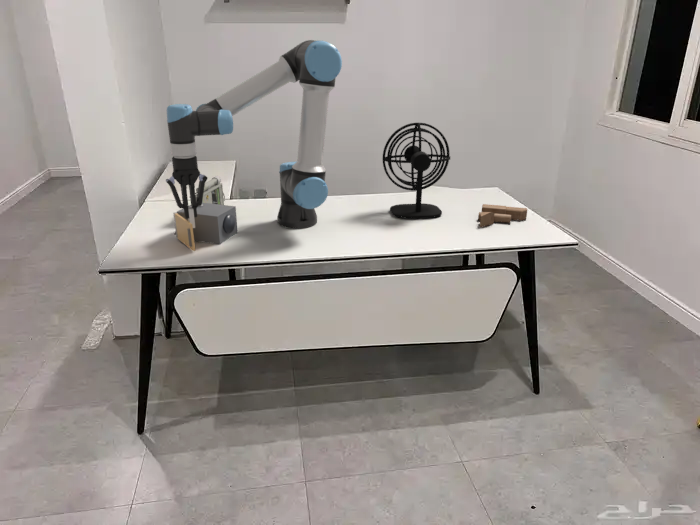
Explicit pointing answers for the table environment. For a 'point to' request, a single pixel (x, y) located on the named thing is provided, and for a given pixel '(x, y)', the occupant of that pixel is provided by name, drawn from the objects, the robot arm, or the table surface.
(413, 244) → the table surface
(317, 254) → the table surface
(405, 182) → the desk fan
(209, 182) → the geiger counter
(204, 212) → the camera housing
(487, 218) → the wooden block set
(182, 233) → the side door
